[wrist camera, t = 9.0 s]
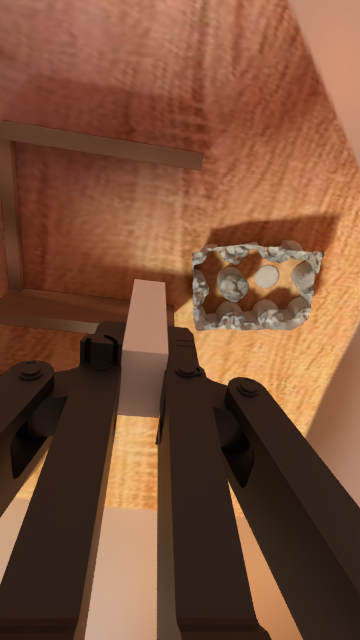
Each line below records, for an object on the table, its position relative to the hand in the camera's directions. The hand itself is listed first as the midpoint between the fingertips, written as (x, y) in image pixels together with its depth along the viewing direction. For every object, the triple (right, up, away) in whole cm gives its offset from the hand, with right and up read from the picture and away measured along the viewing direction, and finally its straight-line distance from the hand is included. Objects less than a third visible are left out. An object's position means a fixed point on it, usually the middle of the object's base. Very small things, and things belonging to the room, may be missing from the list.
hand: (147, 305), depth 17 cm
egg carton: (+8, +3, +14) cm, 16 cm away
